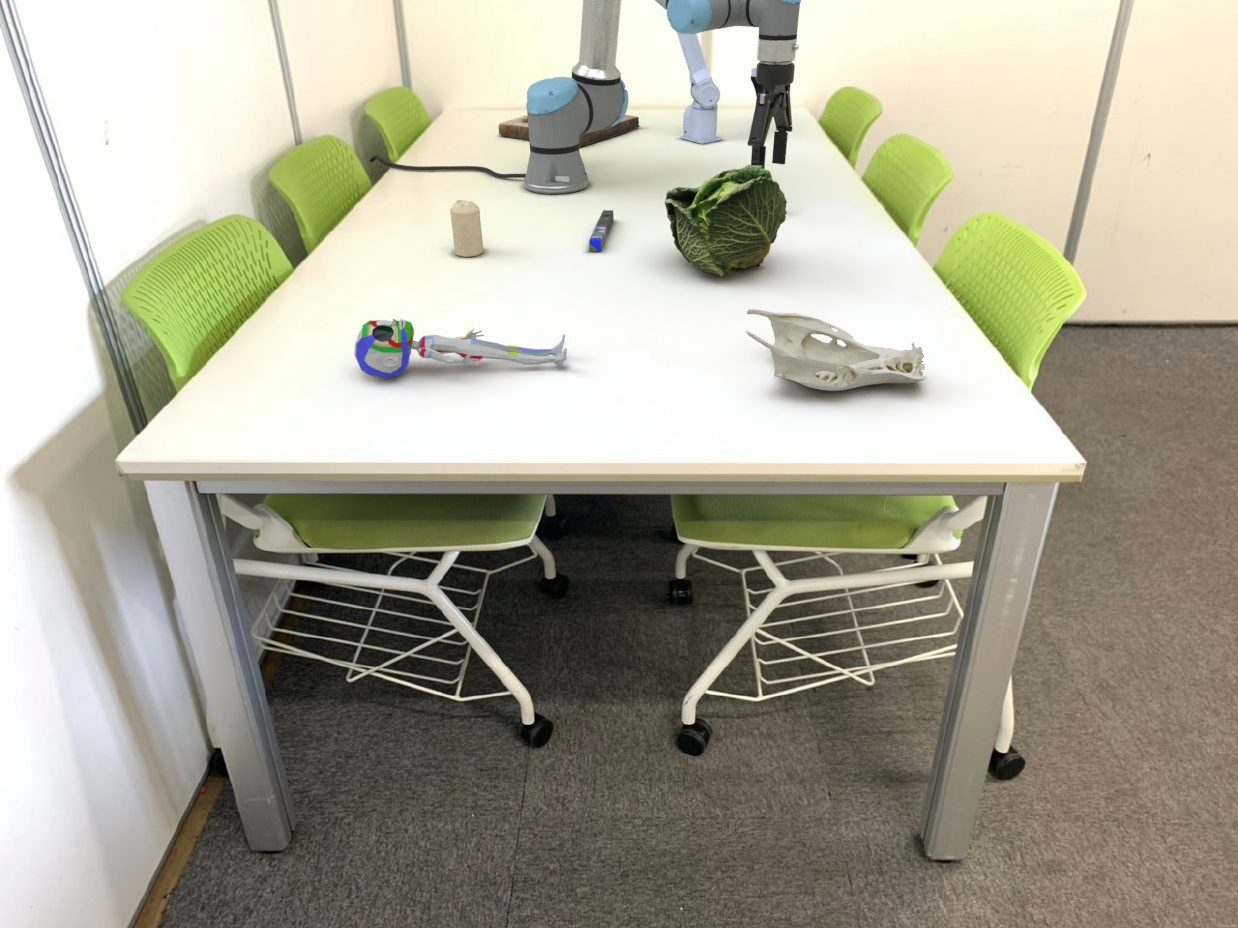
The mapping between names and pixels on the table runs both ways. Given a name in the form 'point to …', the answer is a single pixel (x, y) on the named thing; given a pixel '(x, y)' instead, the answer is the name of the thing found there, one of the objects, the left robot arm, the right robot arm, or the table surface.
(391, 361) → the toy
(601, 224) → the pillar
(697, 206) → the vegetable
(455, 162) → the table surface
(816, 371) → the anatomical model
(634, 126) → the plaque
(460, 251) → the candle
